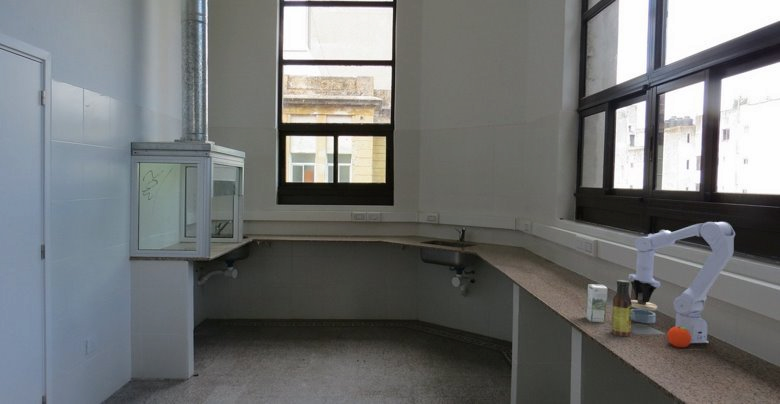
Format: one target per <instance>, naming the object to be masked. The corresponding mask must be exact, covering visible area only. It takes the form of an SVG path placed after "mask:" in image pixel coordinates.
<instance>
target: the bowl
mask: <svg viewBox="0 0 780 404" xmlns="http://www.w3.org/2000/svg"><path fill="white" fill-rule="evenodd" d="M656 318H657V314H656V312H653V311H652V310H648V311H647V310H641V309H632V314H631V321H633V322H637V323H640V324H655V323H656Z"/></svg>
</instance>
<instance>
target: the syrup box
mask: <svg viewBox="0 0 780 404" xmlns="http://www.w3.org/2000/svg"><path fill="white" fill-rule="evenodd" d="M608 290H609V289H608V287H607V286H605V284H595V283H593V284H592V283H588V285H587V296H586V297H587V298H586V312H585V318H586V319H587V320H588V321H589V322H592V323H606V315H607V303H608V302H607V300H608Z"/></svg>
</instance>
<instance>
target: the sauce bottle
mask: <svg viewBox="0 0 780 404" xmlns="http://www.w3.org/2000/svg"><path fill="white" fill-rule="evenodd" d="M616 285H617V286H616V294H615V295H614V296H613V298H612V309H611V310H612V311H611V312H612V313H611V333H612V334H613V335H614V336H615V335H616V336H619V337H624V338H627V337H630V335H631V333H632V332H631V324H632V320H631V314H632V302H631V295H630V292H629V290H630V288H629V287H630V281H628V280H627V279H626V280H625V279H617V280H616Z"/></svg>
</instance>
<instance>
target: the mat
mask: <svg viewBox="0 0 780 404" xmlns="http://www.w3.org/2000/svg"><path fill="white" fill-rule="evenodd" d="M630 333H633V334H635V335H638V336H640V335H644V336H645V335H646V336H647V335H666V332H663V331H660V330H658V329H656V328H653V327H651V326H649V325H647V324H646V323H631V332H630Z"/></svg>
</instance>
